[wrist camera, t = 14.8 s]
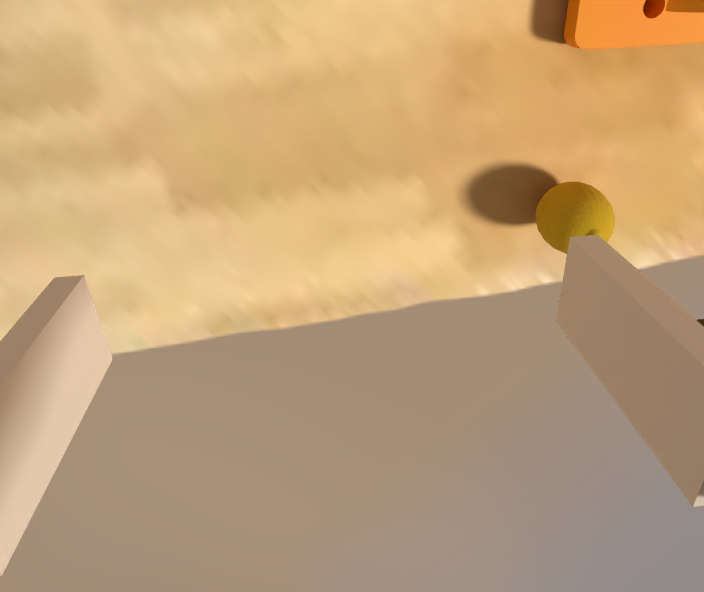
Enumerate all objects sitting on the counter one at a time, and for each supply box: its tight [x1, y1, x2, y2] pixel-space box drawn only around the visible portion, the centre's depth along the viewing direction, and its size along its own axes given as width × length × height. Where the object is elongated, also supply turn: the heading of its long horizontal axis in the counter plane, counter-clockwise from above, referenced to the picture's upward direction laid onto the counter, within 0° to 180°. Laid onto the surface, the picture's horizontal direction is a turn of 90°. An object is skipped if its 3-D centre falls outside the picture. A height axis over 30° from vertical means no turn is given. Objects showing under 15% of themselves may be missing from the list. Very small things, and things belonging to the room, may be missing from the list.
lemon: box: [536, 182, 615, 254], centre depth 44 cm, size 6×6×8 cm
